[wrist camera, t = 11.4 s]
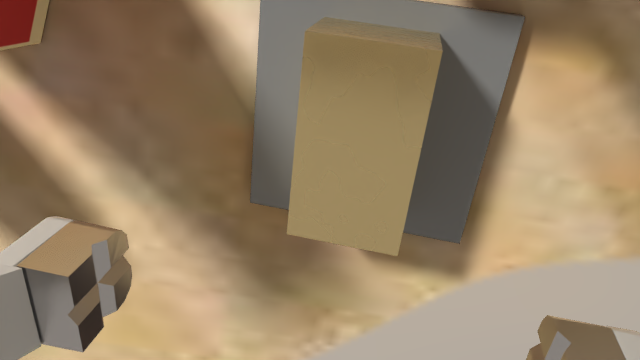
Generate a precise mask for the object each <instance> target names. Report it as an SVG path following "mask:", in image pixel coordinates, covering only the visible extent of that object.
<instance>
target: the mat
mask: <svg viewBox="0 0 640 360" xmlns="http://www.w3.org/2000/svg"><path fill="white" fill-rule="evenodd" d="M324 17H328V18H335V19H342V20H349V21H356V22H363V23H371V24H378V25H385V26H392V27H399V28H406V29H413V30H420V31H427V32H434V33H440V38H441V44H442V50H443V52H442V57H441V61H440V66H439V70H438V75H437V79H436V84H435V88H434V93H433V98H432V102H431V107H430V111H429V116H428V120H427V125H426V129H425V134H424V139H423V143H422V148H421V152H420V157H419V161H418V166H417V171H416V175H415V180H414V184H413V189H412V193H411V198H410V202H409V207H408V212H407V216H406V221H405V225H404V230H403V233H408V234H413V235H418V236H423V237H429V238H434V239H439V240H444V241H449V242H454V243H459V244H460V241H461V237H462V234H463V230H464V227H465V223H466V220H467V216H468V213H469V209H470V206H471V202H472V199H473V196H474V192H475V189H476V185H477V182H478V178H479V175H480V171H481V168H482V164H483V161H484V157H485V154H486V151H487V147H488V144H489V140H490V137H491V133H492V130H493V126H494V123H495V119H496V116H497V112H498V109H499V106H500V102H501V99H502V95H503V92H504V88H505V85H506V81H507V78H508V74H509V71H510V67H511V64H512V61H513V57H514V54H515V50H516V47H517V43H518V40H519V36H520V33H521V29H522V26H523V22H524V19H525V17H524V16H523V15H519V14H511V13H504V12H497V11H490V10H482V9H475V8H468V7H460V6H453V5H446V4H439V3H431V2H424V1H417V0H261V2H260V21H259V41H258V60H257V80H256V99H255V119H254V139H253V158H252V178H251V197H250V203H255V204H260V205H266V206H271V207H276V208H281V209H286V210H289V202H290V191H291V180H292V169H293V158H294V147H295V136H296V125H297V113H298V102H299V91H300V80H301V69H302V58H303V47H304V36H305V31H306V30H307V29H308V28H310V27H311V26H313V25H314V24H315V23H317V22H318V21H319V20H321V19H322V18H324Z"/></svg>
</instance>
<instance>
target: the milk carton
mask: <svg viewBox="0 0 640 360" xmlns="http://www.w3.org/2000/svg"><path fill="white" fill-rule="evenodd" d="M48 5H49V0H0V51H1V50H6V49H12V48H17V47H22V46H28V45H33V44H38V43H41V38H42V33H43V29H44V24H45V19H46V14H47V10H48Z"/></svg>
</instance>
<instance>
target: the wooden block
mask: <svg viewBox="0 0 640 360" xmlns="http://www.w3.org/2000/svg"><path fill="white" fill-rule="evenodd" d="M442 52H443V50H442V44H441V38H440V33H434V32H427V31H420V30H413V29H406V28H399V27H392V26H385V25H378V24H371V23H363V22H356V21H349V20H342V19H335V18H328V17H324V18H322V19H321V20H319V21H318V22H317V23H315V24H314V25H313V26H311V27H310V28H308V29H307V30H306V31H305V36H304V47H303V58H302V69H301V80H300V91H299V102H298V113H297V125H296V136H295V147H294V158H293V169H292V180H291V191H290V202H289V213H288V224H287V234H289V235H293V236H298V237H303V238H308V239H313V240H318V241H323V242H328V243H333V244H338V245H343V246H348V247H353V248H358V249H363V250H368V251H373V252H378V253H383V254H388V255H393V256H398V253H399V248H400V243H401V239H402V234H403V230H404V225H405V221H406V216H407V212H408V207H409V202H410V198H411V193H412V189H413V184H414V180H415V175H416V171H417V166H418V161H419V157H420V152H421V148H422V143H423V139H424V134H425V129H426V125H427V120H428V116H429V111H430V107H431V102H432V98H433V93H434V88H435V84H436V79H437V75H438V70H439V66H440V61H441V57H442Z"/></svg>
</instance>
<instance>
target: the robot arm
mask: <svg viewBox="0 0 640 360" xmlns="http://www.w3.org/2000/svg"><path fill="white" fill-rule="evenodd" d="M128 248H129V246H128V240H127V234H125V233H124V232H123V231H122V230H118V229H114V228H109V227H105V226H100V225H96V224H91V223H87V222H82V221H78V220H77V221H75V220H72V219H67V218H63V217H58V216H52V217H47V218H45V219H44V220H43V221H41V222H40V223H39V224H37V225H36V226H35V227H33V228H32V229H31V230H29V231H28V232H27V233H25V234H24V235H23V236H21V237H20V238H19V239H17V240H16V241H15V242H13V243H12V244H11V245H10V246H8V247H7V248H6V249H4V250H3V251H2V252H0V360H18V359H20V358H21V357H23V356H25V355H27V354H28V353H30V352H32V351H34V350H35V349H37V348H39V347H41V344H45V345H50V346H55V347H59V348H64V349H69V350H74V351H79V352H84V351H85V349H86V348H87V347H88V346H89V344H90V343H91V342H92V341H93V339H94V338H95V337H96V336H97V335H98V333H99V332H100V331H101V330H102V328H103V327H104V323H103V317H104V316H107V315H109V314H111V313H113V312H115V311H117V310H118V309H119V307H120V306H121V305H122V303H123V302H124V301H125V299H126V296H127V294H128V292H129V289H130V287H131V279H132V271H131V265H130V264H129V263H128V261H127V260H126V259H125V257H124V256H123V254H124V253H125V252H126V251H127V250H128ZM538 335H539V338H540V342H541V343H540V344H538V345H536V346H534V347H533V348H531V349H530V351H529V353H528V356H527V359H526V360H640V333H639V332H637V331H633V330H627V329H621V328H616V327H610V326H606V327H605V326H600V325H595V324H590V323H585V322H580V321H575V320H569V319H564V318H558V317H554V316H549V315H547V316H546V317H545V318H544V319H543V320H542V322H541V324H540V327H539V329H538Z"/></svg>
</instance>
